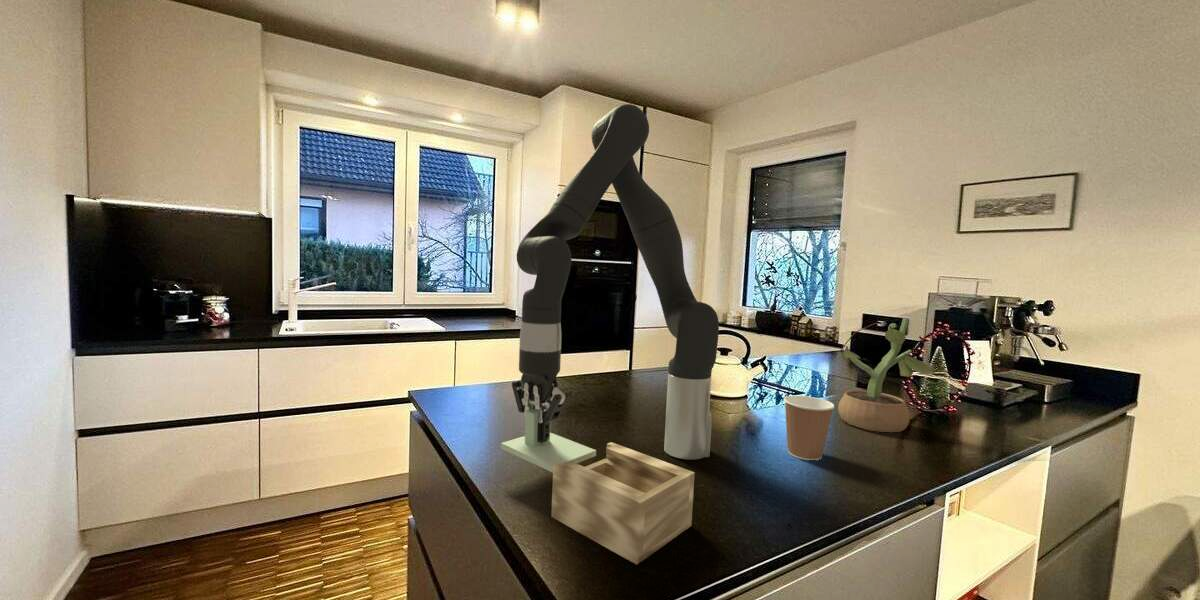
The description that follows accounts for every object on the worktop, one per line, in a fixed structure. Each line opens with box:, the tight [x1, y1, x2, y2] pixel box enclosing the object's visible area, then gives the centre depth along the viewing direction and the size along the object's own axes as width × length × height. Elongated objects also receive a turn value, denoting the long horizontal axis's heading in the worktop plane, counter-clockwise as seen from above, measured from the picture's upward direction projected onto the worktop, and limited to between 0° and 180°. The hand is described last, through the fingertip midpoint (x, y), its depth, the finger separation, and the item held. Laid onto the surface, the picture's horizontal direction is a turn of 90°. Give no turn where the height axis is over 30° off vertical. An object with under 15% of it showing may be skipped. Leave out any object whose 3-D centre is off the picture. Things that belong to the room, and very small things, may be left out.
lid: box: [500, 409, 597, 474], centre depth 86 cm, size 14×10×7 cm
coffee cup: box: [783, 395, 835, 461], centre depth 106 cm, size 10×10×12 cm
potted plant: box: [837, 318, 936, 433], centre depth 127 cm, size 22×18×30 cm
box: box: [550, 442, 696, 565], centre depth 75 cm, size 17×14×9 cm
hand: (537, 439), depth 88 cm, fingers closed on lid, 2 cm apart
